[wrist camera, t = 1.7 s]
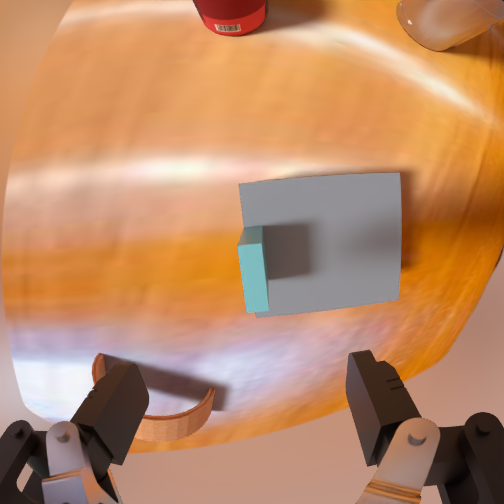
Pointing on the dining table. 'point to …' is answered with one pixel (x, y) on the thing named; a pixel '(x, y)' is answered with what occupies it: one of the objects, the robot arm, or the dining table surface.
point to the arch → (165, 425)
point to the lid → (320, 242)
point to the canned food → (232, 15)
